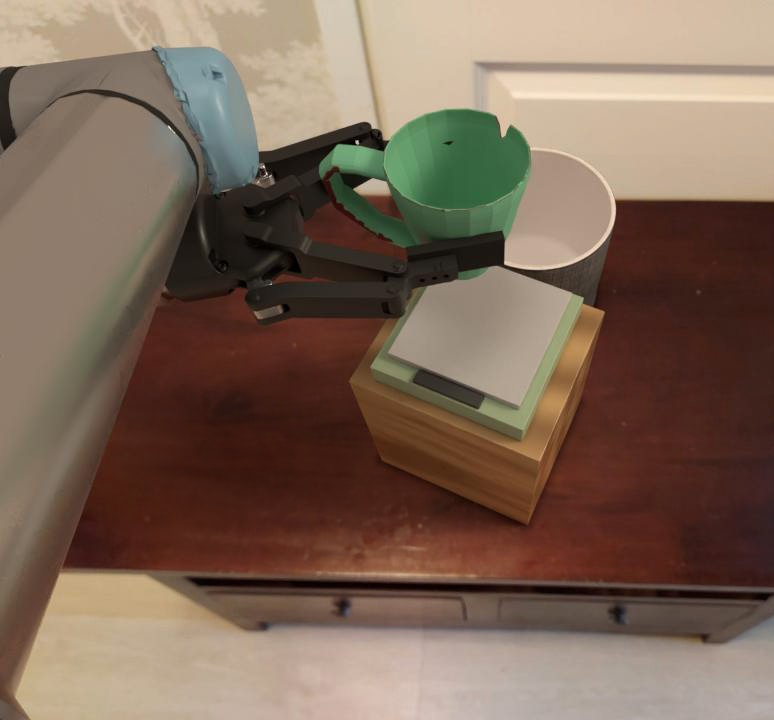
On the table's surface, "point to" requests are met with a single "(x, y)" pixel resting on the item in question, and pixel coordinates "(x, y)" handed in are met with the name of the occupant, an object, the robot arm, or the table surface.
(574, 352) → the riser
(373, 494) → the table surface
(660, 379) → the table surface
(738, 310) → the table surface
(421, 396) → the scale
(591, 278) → the planter
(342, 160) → the mug
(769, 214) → the table surface
